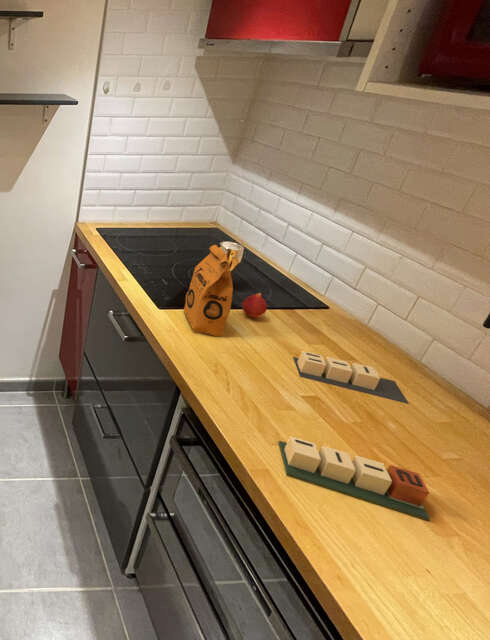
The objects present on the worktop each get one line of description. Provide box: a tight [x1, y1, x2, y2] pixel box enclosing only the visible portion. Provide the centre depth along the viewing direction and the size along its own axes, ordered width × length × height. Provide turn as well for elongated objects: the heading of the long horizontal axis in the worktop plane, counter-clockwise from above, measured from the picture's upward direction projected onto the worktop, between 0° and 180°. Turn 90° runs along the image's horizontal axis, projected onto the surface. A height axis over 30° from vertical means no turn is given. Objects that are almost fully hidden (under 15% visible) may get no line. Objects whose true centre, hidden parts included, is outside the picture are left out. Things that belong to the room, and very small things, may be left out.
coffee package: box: [183, 244, 234, 337], centre depth 120 cm, size 10×12×22 cm
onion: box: [241, 292, 268, 319], centre depth 127 cm, size 6×6×8 cm
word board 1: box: [292, 350, 410, 405], centre depth 104 cm, size 20×8×4 cm, turn 65°
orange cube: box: [386, 464, 430, 506], centre depth 77 cm, size 4×4×4 cm
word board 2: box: [277, 435, 431, 522], centre depth 80 cm, size 20×8×4 cm, turn 65°
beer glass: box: [218, 240, 245, 279], centre depth 140 cm, size 7×7×15 cm
